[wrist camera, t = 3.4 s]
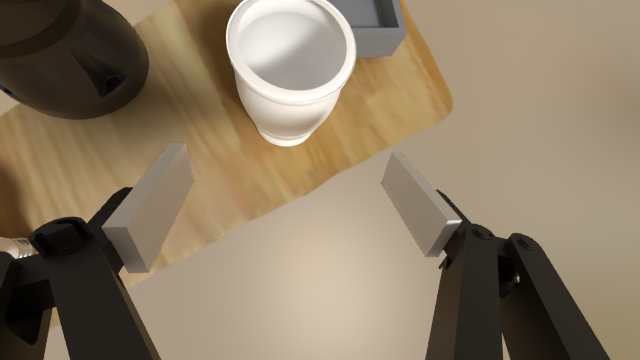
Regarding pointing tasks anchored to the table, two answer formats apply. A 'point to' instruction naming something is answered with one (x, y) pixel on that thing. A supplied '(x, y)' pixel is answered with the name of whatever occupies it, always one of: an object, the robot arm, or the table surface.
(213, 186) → the table surface
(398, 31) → the footed square tray
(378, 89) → the table surface
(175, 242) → the table surface
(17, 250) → the light bulb
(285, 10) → the jar
